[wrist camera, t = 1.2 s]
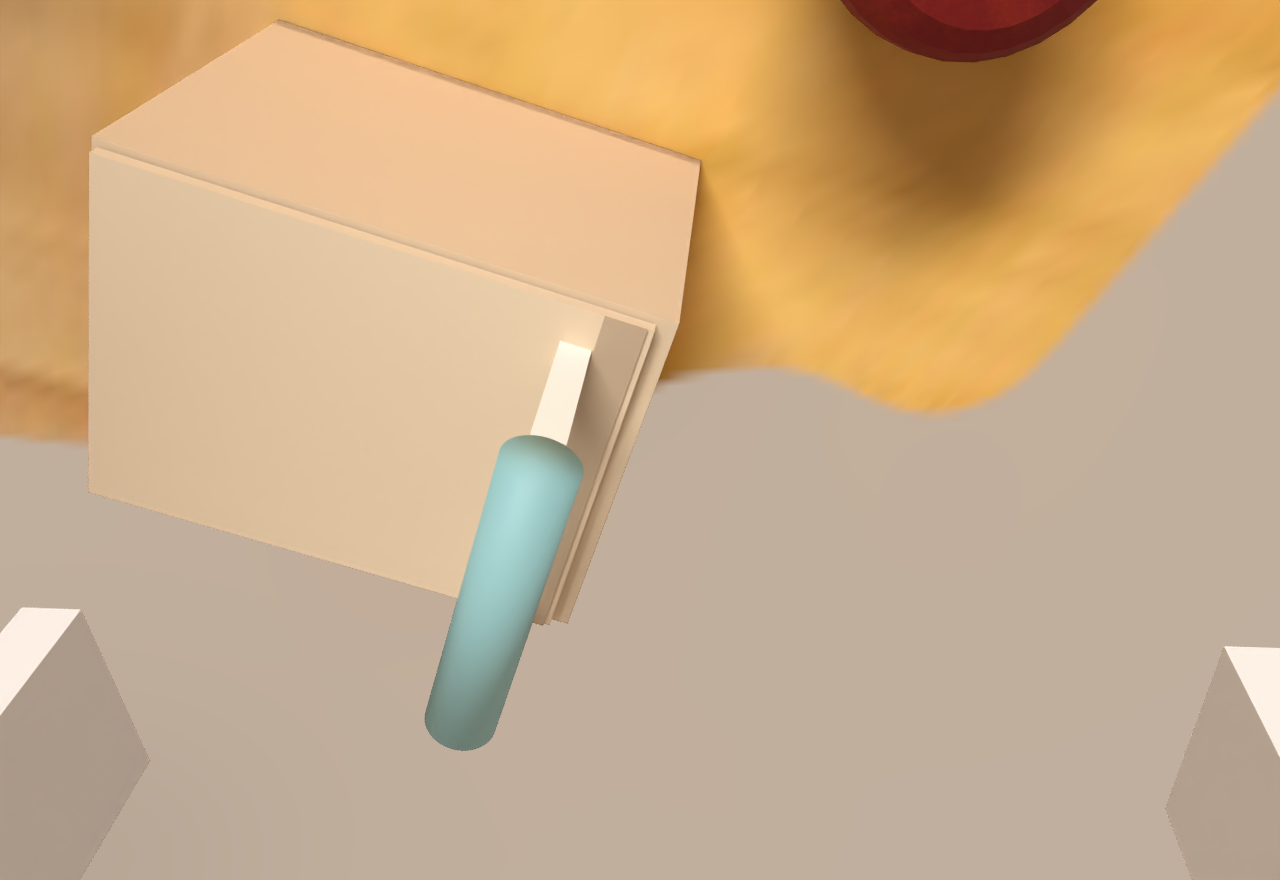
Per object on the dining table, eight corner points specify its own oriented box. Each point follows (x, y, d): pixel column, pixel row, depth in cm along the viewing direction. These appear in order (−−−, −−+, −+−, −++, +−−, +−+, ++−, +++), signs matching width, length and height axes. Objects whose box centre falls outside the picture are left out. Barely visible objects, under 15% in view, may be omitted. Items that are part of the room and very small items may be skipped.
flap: (95, 485, 34) (-42, 641, 28) (97, 147, 27) (-80, 260, 22) (551, 616, 35) (510, 791, 30) (655, 324, 29) (629, 475, 23)
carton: (250, 303, 45) (90, 486, 34) (278, 19, 38) (91, 135, 27) (611, 414, 46) (567, 623, 36) (700, 160, 40) (679, 323, 29)
